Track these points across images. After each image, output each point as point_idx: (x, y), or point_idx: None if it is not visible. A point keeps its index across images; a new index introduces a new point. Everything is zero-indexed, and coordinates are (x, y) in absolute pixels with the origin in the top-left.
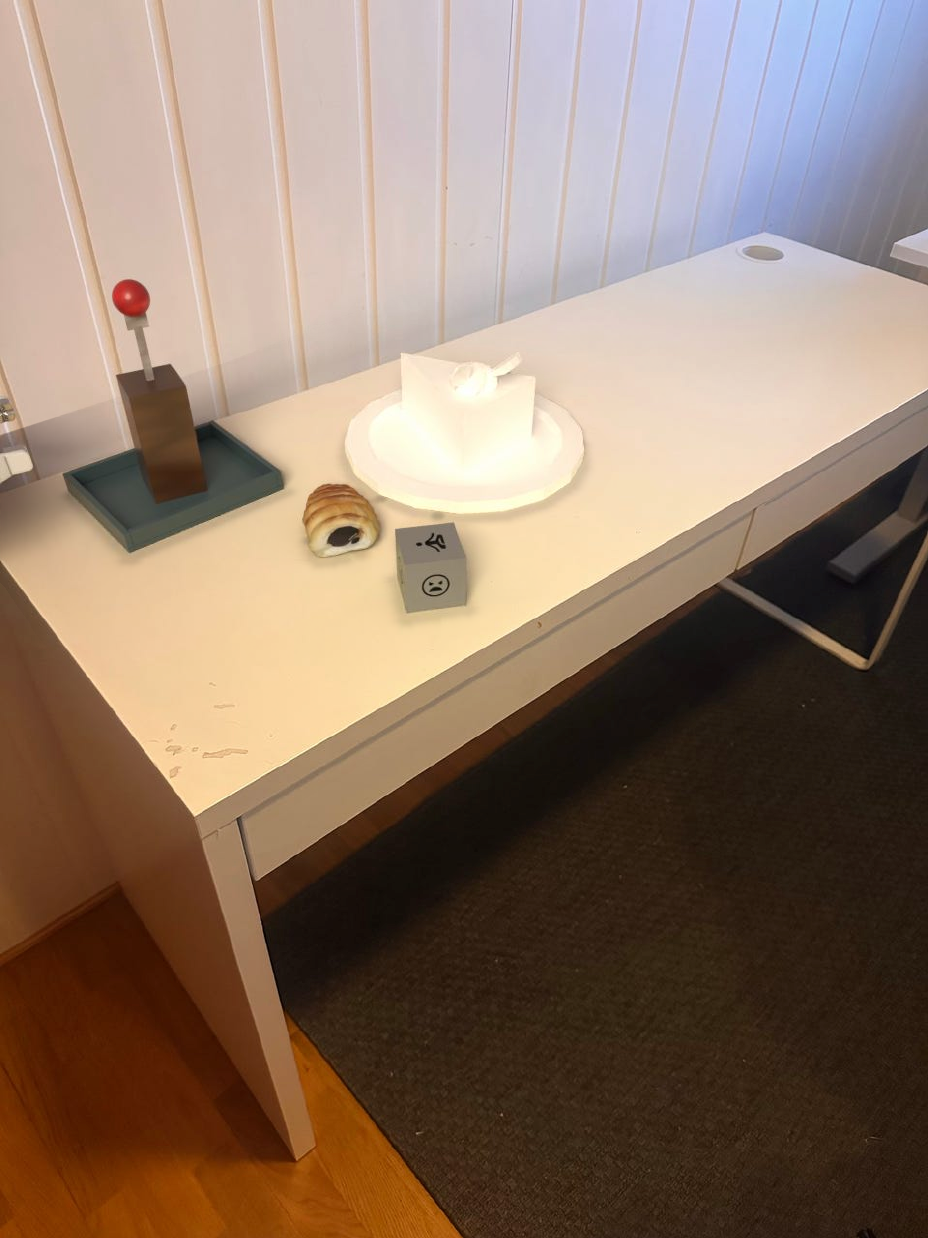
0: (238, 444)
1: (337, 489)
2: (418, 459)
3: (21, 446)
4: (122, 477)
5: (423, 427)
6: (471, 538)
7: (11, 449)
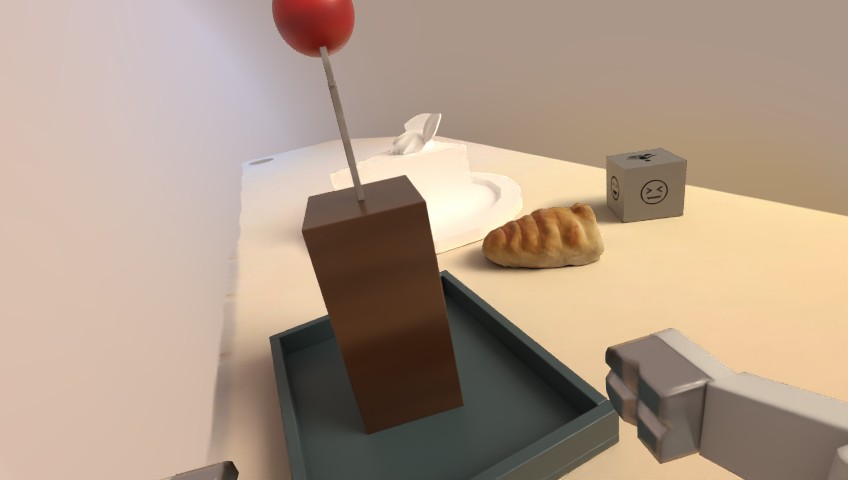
0: None
1: (514, 223)
2: (436, 221)
3: (633, 342)
4: (344, 472)
5: None
6: (559, 202)
7: (667, 363)
